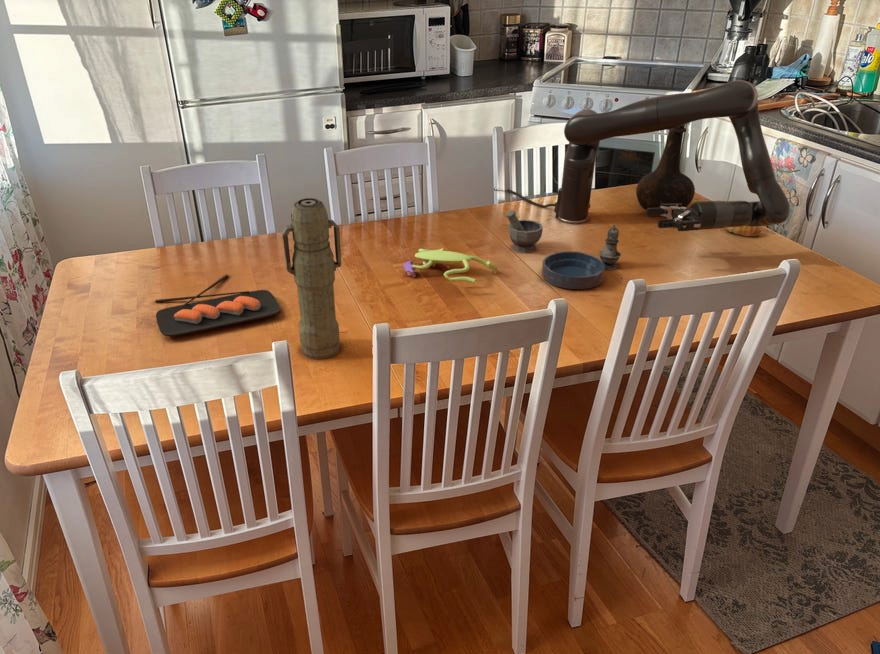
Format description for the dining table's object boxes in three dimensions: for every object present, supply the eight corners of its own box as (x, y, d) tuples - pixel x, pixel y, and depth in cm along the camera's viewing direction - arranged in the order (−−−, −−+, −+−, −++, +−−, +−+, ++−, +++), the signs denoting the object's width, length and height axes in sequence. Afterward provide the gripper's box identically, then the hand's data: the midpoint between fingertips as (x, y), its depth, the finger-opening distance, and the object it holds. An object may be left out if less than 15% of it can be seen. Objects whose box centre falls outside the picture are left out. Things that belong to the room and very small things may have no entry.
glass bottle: (649, 223, 228) (665, 132, 213) (623, 203, 242) (636, 117, 228) (701, 218, 231) (720, 128, 216) (672, 199, 245) (688, 114, 230)
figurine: (464, 300, 185) (465, 280, 182) (388, 271, 201) (387, 252, 198) (506, 276, 197) (508, 257, 194) (431, 250, 212) (431, 232, 209)
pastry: (763, 233, 219) (766, 221, 217) (753, 240, 215) (756, 228, 213) (732, 225, 225) (735, 213, 223) (722, 231, 221) (725, 219, 219)
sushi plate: (163, 344, 169) (160, 330, 167) (146, 291, 192) (144, 278, 190) (284, 318, 179) (283, 305, 177) (254, 271, 202) (253, 258, 200)
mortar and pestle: (532, 240, 218) (536, 201, 211) (546, 252, 210) (550, 212, 204) (497, 244, 215) (500, 205, 209) (509, 257, 208) (512, 217, 201)
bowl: (530, 279, 195) (531, 265, 193) (560, 259, 206) (562, 246, 203) (584, 297, 186) (586, 282, 184) (613, 275, 197) (615, 262, 194)
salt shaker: (594, 261, 204) (600, 221, 198) (615, 260, 205) (621, 220, 198) (601, 270, 199) (607, 229, 193) (622, 269, 200) (628, 228, 193)
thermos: (290, 345, 168) (273, 199, 149) (338, 334, 172) (328, 191, 153) (301, 364, 161) (285, 213, 142) (351, 352, 165) (342, 204, 146)
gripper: (702, 192, 200) (645, 195, 199) (726, 211, 188) (665, 214, 187) (697, 218, 204) (640, 221, 203) (720, 238, 192) (660, 241, 191)
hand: (652, 218), depth 195 cm, fingers open, 8 cm apart
